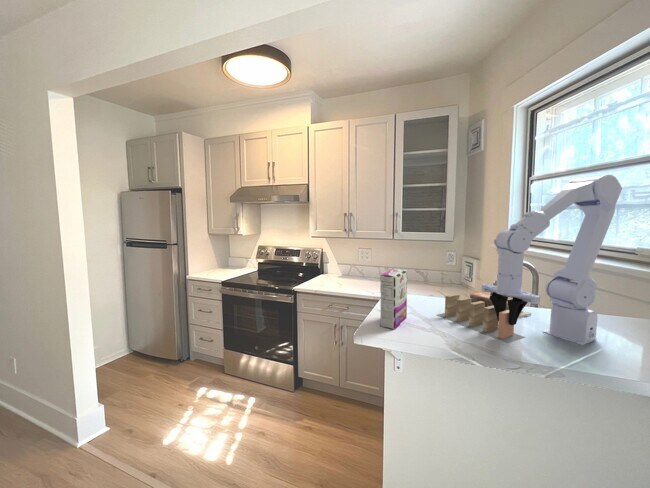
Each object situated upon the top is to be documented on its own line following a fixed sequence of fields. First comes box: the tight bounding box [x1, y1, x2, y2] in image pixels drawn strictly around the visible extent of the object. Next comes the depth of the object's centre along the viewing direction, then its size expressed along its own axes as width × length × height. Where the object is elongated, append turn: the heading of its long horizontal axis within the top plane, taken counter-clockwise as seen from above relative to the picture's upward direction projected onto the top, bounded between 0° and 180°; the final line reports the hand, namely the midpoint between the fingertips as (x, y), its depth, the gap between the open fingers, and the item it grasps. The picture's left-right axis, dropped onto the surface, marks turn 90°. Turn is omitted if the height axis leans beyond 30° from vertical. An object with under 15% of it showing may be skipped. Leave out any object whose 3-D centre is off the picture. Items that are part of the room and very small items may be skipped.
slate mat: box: [436, 312, 526, 344], centre depth 89 cm, size 24×8×1 cm, turn 27°
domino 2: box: [456, 296, 472, 322], centre depth 92 cm, size 1×5×7 cm, turn 117°
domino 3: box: [469, 301, 485, 327], centre depth 88 cm, size 1×5×7 cm, turn 117°
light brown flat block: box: [483, 306, 499, 333], centre depth 84 cm, size 1×5×7 cm, turn 117°
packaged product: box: [469, 291, 532, 319], centre depth 103 cm, size 18×5×10 cm
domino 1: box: [444, 293, 460, 318], centre depth 96 cm, size 1×5×7 cm, turn 117°
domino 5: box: [498, 310, 515, 339], centre depth 80 cm, size 1×5×7 cm, turn 119°
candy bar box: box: [379, 268, 408, 330], centre depth 91 cm, size 11×5×16 cm, turn 146°
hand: (506, 322), depth 80 cm, fingers open, 3 cm apart
